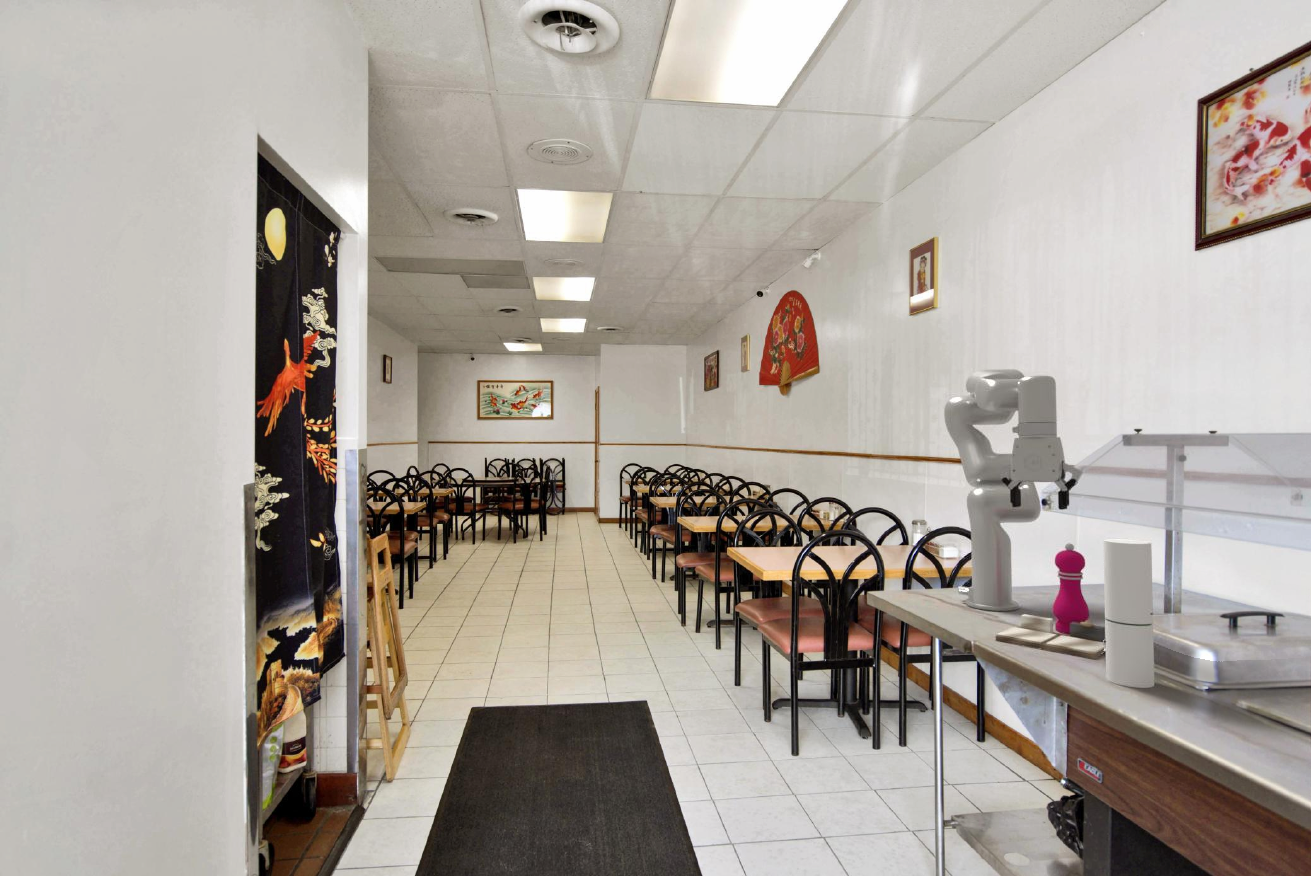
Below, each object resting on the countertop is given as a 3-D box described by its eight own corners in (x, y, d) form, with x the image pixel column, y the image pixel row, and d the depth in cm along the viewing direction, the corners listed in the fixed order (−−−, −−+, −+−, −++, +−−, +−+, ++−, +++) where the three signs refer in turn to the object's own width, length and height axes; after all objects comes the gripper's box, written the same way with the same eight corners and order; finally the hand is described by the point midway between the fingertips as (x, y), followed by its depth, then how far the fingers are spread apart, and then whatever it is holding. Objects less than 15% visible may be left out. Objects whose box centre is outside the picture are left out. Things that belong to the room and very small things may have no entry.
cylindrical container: (1158, 681, 125) (1155, 541, 126) (1148, 690, 120) (1145, 544, 121) (1112, 672, 130) (1109, 537, 131) (1101, 680, 125) (1098, 541, 126)
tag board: (995, 640, 152) (995, 620, 153) (1018, 630, 161) (1017, 611, 161) (1094, 659, 138) (1094, 636, 138) (1113, 647, 146) (1113, 626, 146)
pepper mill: (1096, 635, 156) (1095, 545, 156) (1064, 635, 156) (1062, 545, 156) (1077, 627, 163) (1076, 541, 163) (1046, 627, 163) (1045, 541, 163)
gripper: (990, 432, 161) (992, 507, 160) (1074, 429, 148) (1076, 511, 147) (1004, 432, 166) (1006, 505, 165) (1086, 430, 152) (1088, 509, 152)
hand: (1039, 507), depth 156 cm, fingers open, 9 cm apart
